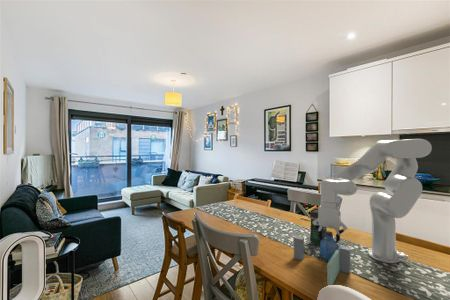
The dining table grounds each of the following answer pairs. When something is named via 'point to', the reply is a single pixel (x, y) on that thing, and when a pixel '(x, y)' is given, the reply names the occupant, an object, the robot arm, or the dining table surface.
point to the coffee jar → (314, 231)
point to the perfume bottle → (328, 246)
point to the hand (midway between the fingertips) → (329, 239)
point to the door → (333, 268)
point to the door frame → (343, 254)
